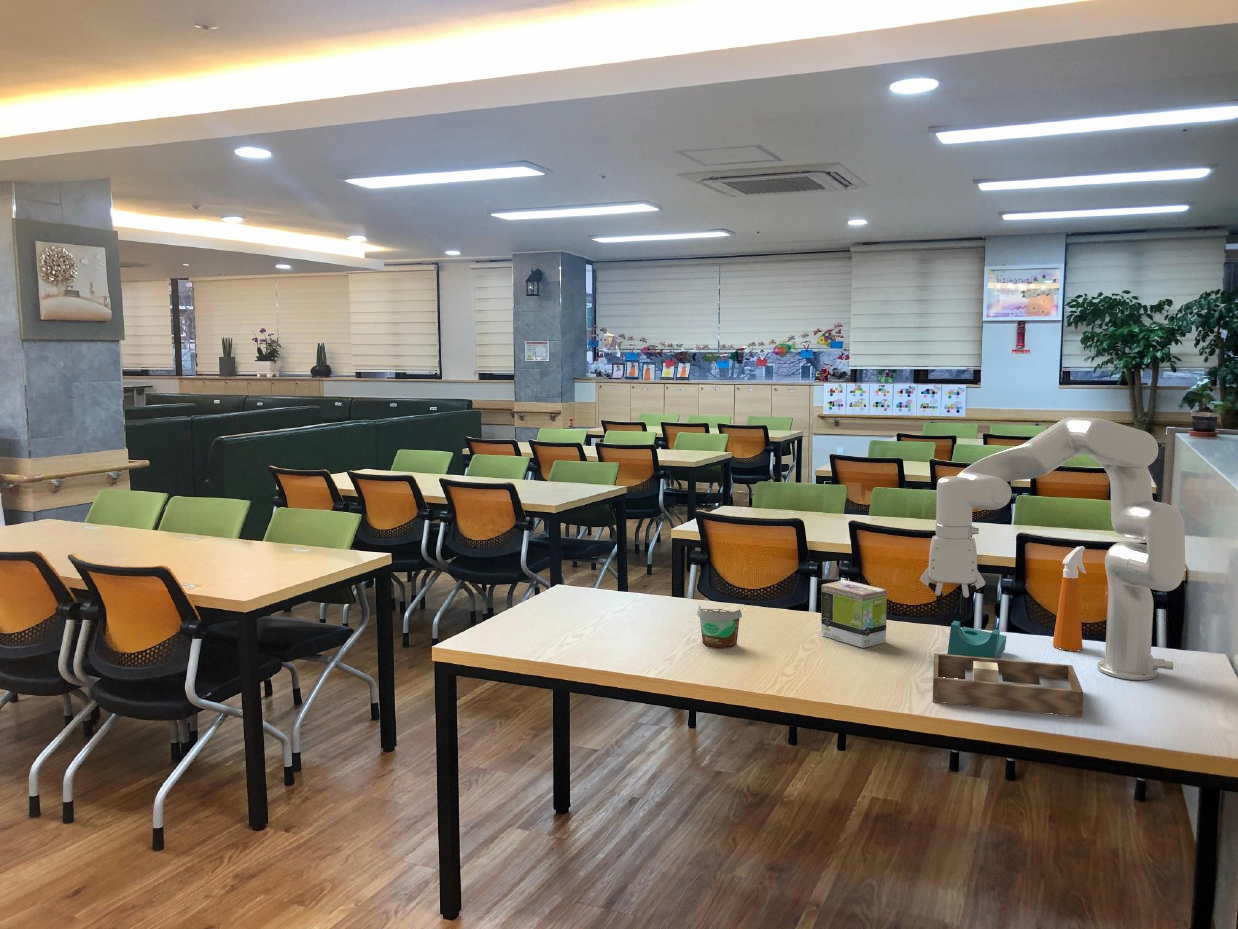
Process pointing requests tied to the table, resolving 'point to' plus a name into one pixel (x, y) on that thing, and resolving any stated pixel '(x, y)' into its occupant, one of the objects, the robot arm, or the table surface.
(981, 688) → the box
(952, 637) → the teal l-shaped bracket
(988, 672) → the block
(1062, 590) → the spray bottle
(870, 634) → the tea box
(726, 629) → the food container
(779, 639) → the table surface
